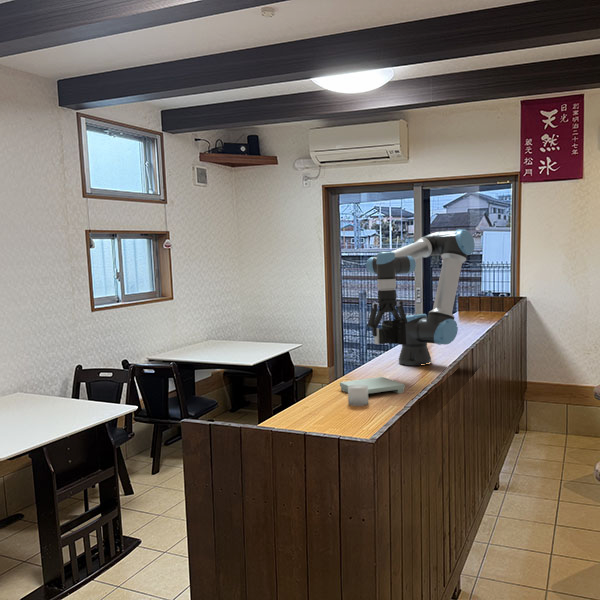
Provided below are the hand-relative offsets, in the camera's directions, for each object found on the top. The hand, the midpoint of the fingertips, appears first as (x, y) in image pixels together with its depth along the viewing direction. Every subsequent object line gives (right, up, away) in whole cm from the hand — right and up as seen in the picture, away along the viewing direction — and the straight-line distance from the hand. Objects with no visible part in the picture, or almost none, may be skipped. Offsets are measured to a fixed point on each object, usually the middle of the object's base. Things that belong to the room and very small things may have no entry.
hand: (388, 342), depth 232 cm
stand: (-9, -17, -19) cm, 27 cm away
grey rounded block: (-16, -19, -36) cm, 44 cm away
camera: (0, -1, 0) cm, 1 cm away
